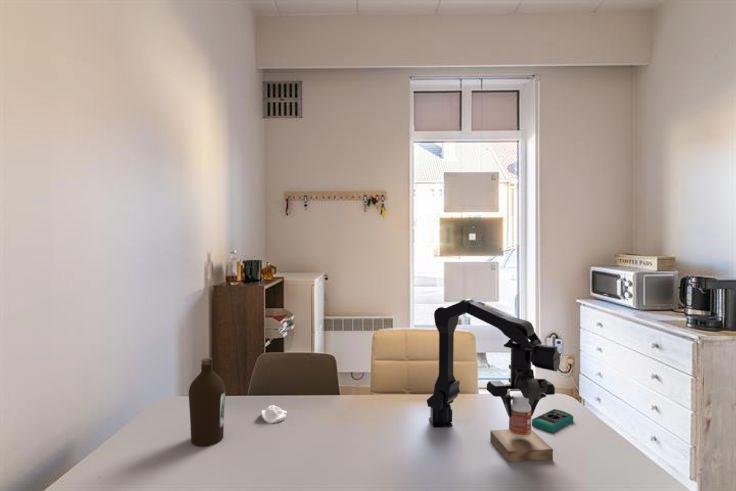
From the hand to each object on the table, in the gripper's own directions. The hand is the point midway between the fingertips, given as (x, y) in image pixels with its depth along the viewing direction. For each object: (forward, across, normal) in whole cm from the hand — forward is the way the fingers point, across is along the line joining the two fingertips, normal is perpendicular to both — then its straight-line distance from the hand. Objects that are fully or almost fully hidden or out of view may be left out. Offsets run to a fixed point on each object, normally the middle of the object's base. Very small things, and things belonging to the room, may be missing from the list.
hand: (520, 416), depth 126 cm
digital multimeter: (+10, +19, +16) cm, 27 cm away
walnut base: (+10, 0, 0) cm, 10 cm away
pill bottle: (+5, 0, 0) cm, 5 cm away
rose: (+11, -75, +30) cm, 82 cm away
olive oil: (+10, -93, +16) cm, 95 cm away
